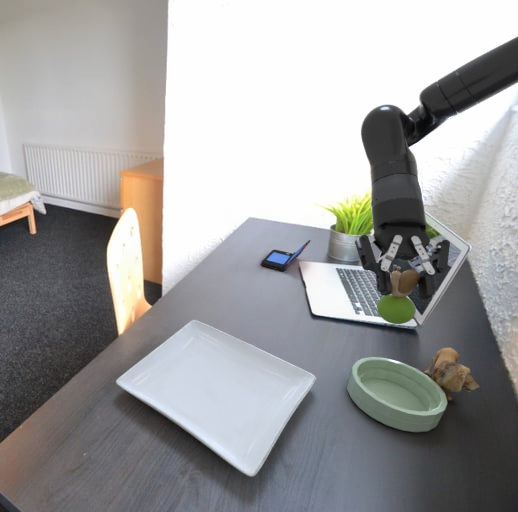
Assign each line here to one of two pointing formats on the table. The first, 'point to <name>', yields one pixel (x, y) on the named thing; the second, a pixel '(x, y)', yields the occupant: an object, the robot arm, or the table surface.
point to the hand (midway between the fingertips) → (406, 296)
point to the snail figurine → (399, 297)
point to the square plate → (220, 392)
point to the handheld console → (281, 258)
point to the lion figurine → (450, 373)
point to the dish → (396, 394)
